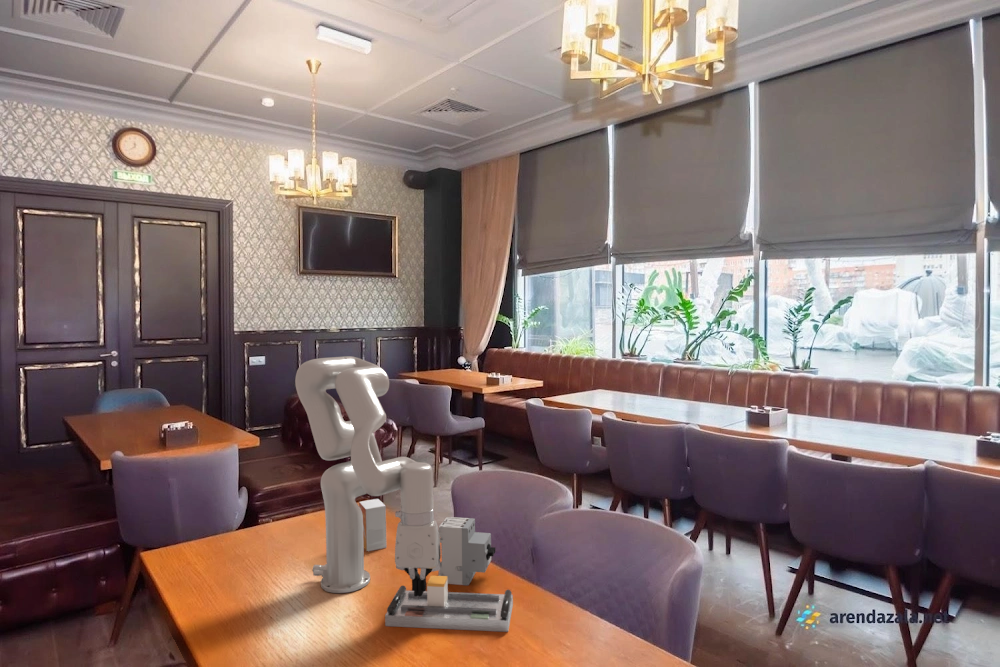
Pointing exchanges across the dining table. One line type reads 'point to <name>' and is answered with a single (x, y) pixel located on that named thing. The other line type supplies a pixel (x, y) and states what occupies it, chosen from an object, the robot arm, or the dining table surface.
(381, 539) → the small box
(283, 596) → the dining table surface
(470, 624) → the panel
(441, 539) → the circuit breaker
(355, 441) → the robot arm
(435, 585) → the toggle
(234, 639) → the dining table surface
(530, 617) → the dining table surface
